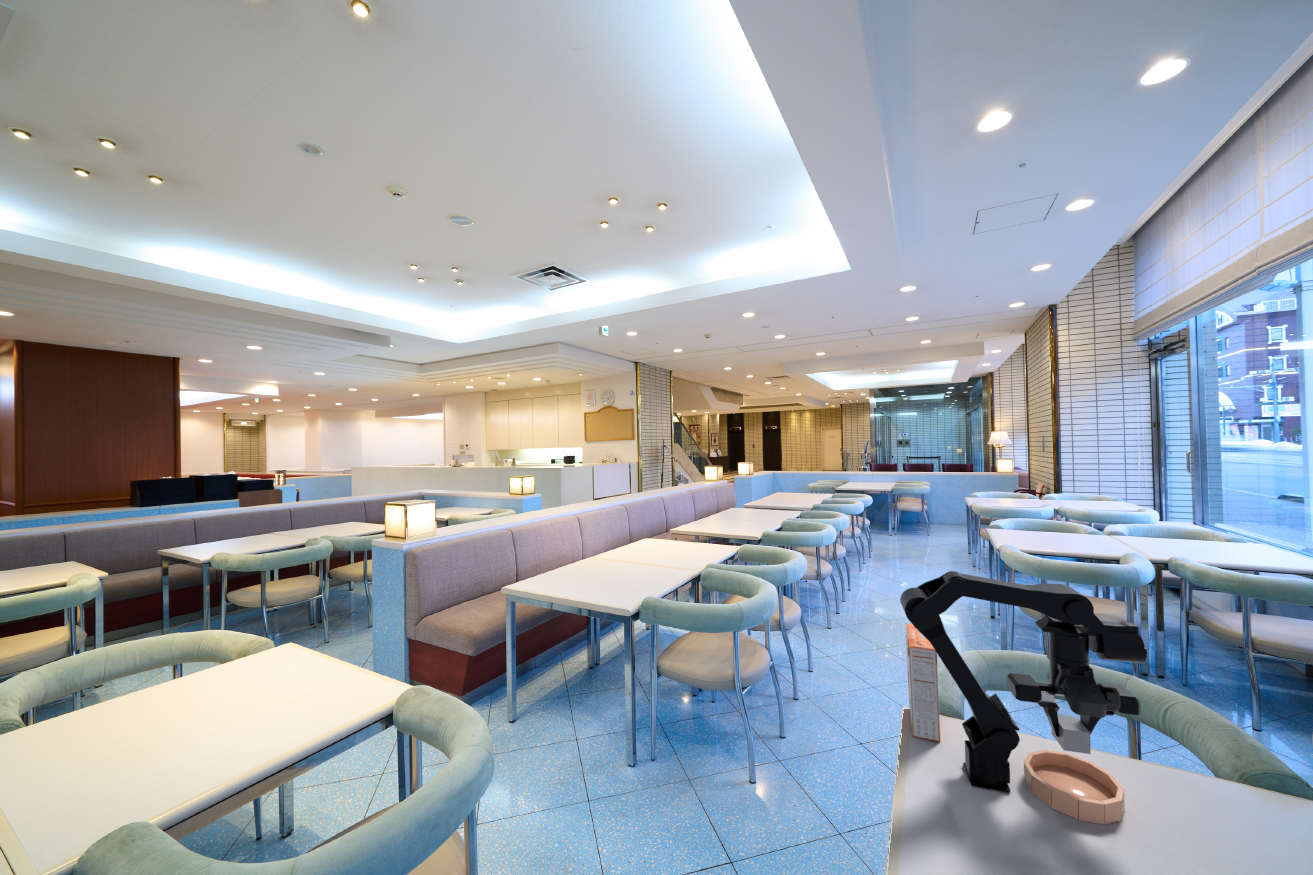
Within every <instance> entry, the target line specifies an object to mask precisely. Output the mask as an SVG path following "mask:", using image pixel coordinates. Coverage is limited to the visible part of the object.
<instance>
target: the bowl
mask: <svg viewBox="0 0 1313 875" xmlns="http://www.w3.org/2000/svg"><path fill="white" fill-rule="evenodd" d="M1023 778H1024V782H1025V783H1026V785H1027V786H1028V788H1029V791H1030V792H1031V793H1032V794H1033V795H1034V796H1035V797H1036V798H1037V799H1039V800H1040V801H1042V802H1043V803H1044V804H1046V805H1047V806H1048V807H1050V808H1052V809H1053V810H1056V811H1058V812H1060V813H1061V814H1062V813H1063V814H1064V815H1067V816H1069V817H1072V818H1073V819H1076V820H1079V821H1082V822H1083V821H1084V822H1090V823H1095V824H1100V823H1101V824H1102V825H1109V824H1112V823H1111V822H1113V823H1117V822H1121V821H1123V818H1124V814H1125V805H1126V804H1125V803H1126V802H1125V788H1124V787H1123V786H1122V785H1121V784H1120V782H1119V781H1118V780H1117V778H1115V776H1114V775H1113V774H1111V773H1110V772H1108V771H1106V770H1105V769H1103V767H1100V766H1099V765H1097V764H1095V763H1094V762H1091V761H1090V760H1087V759H1085V758H1081V757H1078V756H1076V755H1073V754H1071V753H1068V752H1063V751H1055V750H1048V749H1041V750H1034V751H1030V752H1028V753H1027V754H1026V756H1025V759H1024V761H1023ZM1116 821H1117V822H1116ZM1108 823H1109V824H1108ZM1101 824H1100V825H1101Z"/></svg>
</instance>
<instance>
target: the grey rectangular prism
mask: <svg viewBox="0 0 1313 875" xmlns="http://www.w3.org/2000/svg"><path fill="white" fill-rule="evenodd" d="M1058 722H1059V737H1056V736H1055V734H1054V732H1053V730H1052V729H1051V735H1052V736H1053V738H1054V739H1055V740H1056V742H1057V743H1058V744H1059V747H1060V748H1061V749H1062V750H1063V751H1065V752H1072V753H1080V754H1085V755H1092V754H1091V735H1090V732H1089V731H1088V729H1087V728H1086V727H1085V726H1084V725H1083V724H1082V722H1081V721H1080V718H1078V717H1077V716H1074V715H1073V716H1072V715H1065V714H1058Z"/></svg>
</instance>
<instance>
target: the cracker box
mask: <svg viewBox="0 0 1313 875" xmlns="http://www.w3.org/2000/svg"><path fill="white" fill-rule="evenodd" d="M905 640H906V641H905V643H906V663H907V666H906V667H907V685H908V686H907V687H908V703H909V706H908V707H909V717H910V726H911V727H910V728H911V733H912V734H911V736H912V737H913V738H917V739H918V738H919V739H922V740H923V739H924V740H929V741H933V742H938V743H941V726H940V723H941V722H940V721H941V720H940V701H939V678H938V677H939V674H938V671H939V670H938V654H937V652H936V651H935V649H934V648H933V646H932V645H931V643H930V642H929V641H928V640H927V639H926V638H925V637H924V636H923V635H922V634H921V633H920V632H919V631H918V630H917V629H916V628H915V626H914V625H913V624H912V623H905Z"/></svg>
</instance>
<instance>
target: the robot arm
mask: <svg viewBox="0 0 1313 875" xmlns="http://www.w3.org/2000/svg"><path fill="white" fill-rule="evenodd" d="M963 597H965V598H971V599H977V600H981V601H985V602H992V603H997V604H1003V605H1009V606H1013V607H1018V608H1024V609H1029V610H1032V611H1036V612H1037V613H1040V614H1042V615H1044V616H1043V617H1042V618H1039V619H1037V620H1036V621H1035V622H1034V624H1035V625H1036V627H1038V628H1039V629H1040V631H1042V632H1044V633H1048V643H1049V644H1048V646H1049V647H1048V649H1049V650H1048V651H1049V652H1048V651H1047V652H1046V658H1047V659H1048V661H1049V673H1046V674H1047V675H1046V676H1047V678H1046V679H1048V681H1049V683H1042V682H1036V680H1035V679H1034V678H1033V676H1032V675H1030V674H1025V673H1024V674H1022V673H1017V672H1016V673H1013V672H1009V673H1008V674H1007V676H1006V677H1005V684H1006V687H1007V688H1008V690H1009V691H1010V692H1011V694H1012V695H1013V697H1014V698H1015V699H1016V700H1017V701H1020V702H1027V703H1034V704H1035V703H1036V704H1037V705H1038V706H1039V707H1042V709H1043V711H1044V713H1045V716H1046V719H1047V720H1048V722H1049V725H1050V727H1051V731H1052V730H1053V732H1054V734H1055V736H1056V737H1059V722H1058V715H1059V713H1058V711H1059V710H1060V706H1059V705H1058V704H1057V702H1056V698H1055V697H1062V698H1065V701H1066V702H1067V704H1068V705H1069V708H1070V710H1071V712H1073V713H1074V714H1076V715H1078V716H1079V720H1080V721H1081V722H1082V724H1083V725H1084V726H1085V727H1086V728H1087V729H1088V731H1089V732H1090V736H1091V734H1092V733H1093V731H1094V730H1095V728H1096V726H1097V724H1098V722H1100V720H1101V719H1103V718H1105V717H1108V716H1110V717H1111V716H1114V715H1115V712H1117V711H1118V712H1119V713H1120V714H1125V715H1131V716H1132V715H1133V716H1140V715H1142V712H1141V711H1142V710H1141V709H1142V706H1141V702H1140V700H1139V699H1138V698H1137V697H1136V696H1135V695H1133V694H1132V693H1131V691H1129V690H1128V689H1127V688H1125V686H1123V685H1122V684H1119V683H1118V684H1117V683H1116V684H1115V683H1108V682H1100V681H1099V682H1098V683H1097V681H1096V679H1095V674H1094V669H1093V668H1092V667H1091V666H1090V651H1091V652H1092V653H1095V654H1096V655H1097V656H1098V658H1099V659H1100V660H1107V661H1114V662H1115V661H1117V662H1128V663H1134V664H1135V663H1137V664H1143V663H1145V662H1146V659H1147V657H1148V649H1147V648H1146V646H1145V642H1144V640H1143V637H1142V635H1141V634H1140V633H1139V626H1137V624H1134V623H1133V622H1130V621H1118V622H1115V621H1107V620H1106V621H1103V620H1100V619H1099V617H1098V616H1097V615H1096V614H1095V613H1094V612H1095V611H1094V610H1095V608H1094V605H1093V603H1092V602H1091V600H1090V599H1089V598H1088V597H1086V596H1085V595H1083V594H1082V593H1080V592H1079V591H1077V590H1076V589H1074V588H1073V587H1071V586H1069V585H1067V584H1063V583H1043V582H1042V583H1035V584H1022V583H1017V582H1011V581H1005V580H1000V579H996V578H995V579H994V578H990V577H989V578H987V577H982V576H977V575H971V574H965V573H962V572H958V571H956V570H954V571H953V570H950V571H946V572H944V573H943V574H942V575H940V576H938V577H936V578H933V579H930V580H928V581H925V582H923V583H921V584H919V585H918V586H917V587H909V588H907V589H905V590H904V591H903V592H902V593H901V595H900V599H899V601H900V605H901V607H902V609H903V611H904V614H905V616H906V618H907V619H908V621H909V622H910V624H913V625H914V626H915V628H916V629H917V630H918V631H919V632H920V633H921V634H922V635H923V636H924V637H925V638H926V639H927V640H928V641H929V642H930V643H931V645H932V646H933V648H934V649H935V651H936V652H937V657H939V659H940V661H941V662H942V663H943V665H944V666H945V668H946V669H947V672H949V674H950V676H951V678H952V679H953V681H954V682H955V684H956V685H957V687H958V688H959V690H960V692H961V693H962V694H963V696H964V697H965V699H966V700H967V704H968V706H969V710H970V711H971V714H972V716H970V717H969V718H967V719H966V720H965V721H963V722H962V723H961V725H962V727H963V730H964V732H965V735H966V736H967V739H968V740H964V757H965V759H964V760H965V761H964V762H963V763H962V767H963V769H964V772H965V774H966V777H967V779H968V781H969V784H970V786H972V787H973V788H978V789H983V790H984V789H986V790H991V791H995V792H1003V793H1007V794H1009V793H1011V788H1010V786H1009V784H1011V771H1010V770H1011V767H1010V766H1011V764H1010V762H1009V758H1010V756H1011V754H1012V752H1013V751H1014V750H1015V749H1016V748H1017V747H1018V746H1019V743H1020V741H1021V740H1020V736H1019V734H1018V732H1017V731H1020V730H1021V729H1020V727H1019V726H1018V725H1017V723H1016V721H1015V720H1014V718H1013V717H1012V715H1011V713H1010V712H1009V711H1008V709H1007V708H1006V707H1005V705H1004V703H1003V702H1002V700H1001V699H1000V697H999V696H998V694H997V693H994V694H991V696H990V695H989V694H988V693H987V692H986V691H985V690H984V689H983V688H982V686H981V684H980V683H979V682H978V680H977V679H976V677H975V675H974V674H973V672H972V671H971V668H969V666H968V664H967V663H966V662H965V660H964V659H963V657H962V655H961V654H960V651H958V649H957V647H956V646H955V644H954V643H953V641H952V640H951V638H950V637H949V635H948V634H947V631H946V629H945V626H944V623H943V620H942V619H941V616H940V615H942V614H943V613H945V612H946V611H948V609H950V607H952V605H953V604H954V603H955V602H957V601H958V600H959V599H961V598H963Z"/></svg>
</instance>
